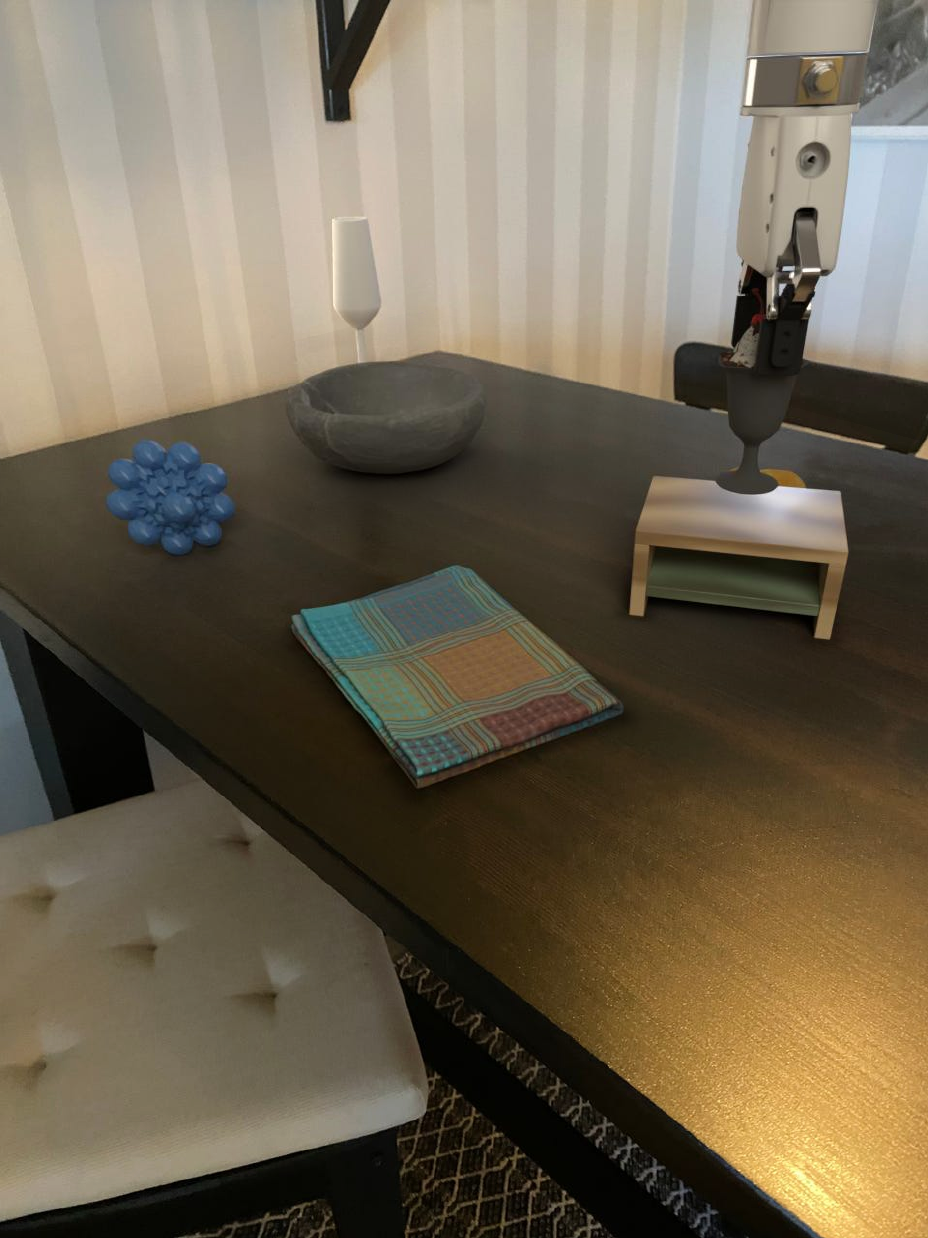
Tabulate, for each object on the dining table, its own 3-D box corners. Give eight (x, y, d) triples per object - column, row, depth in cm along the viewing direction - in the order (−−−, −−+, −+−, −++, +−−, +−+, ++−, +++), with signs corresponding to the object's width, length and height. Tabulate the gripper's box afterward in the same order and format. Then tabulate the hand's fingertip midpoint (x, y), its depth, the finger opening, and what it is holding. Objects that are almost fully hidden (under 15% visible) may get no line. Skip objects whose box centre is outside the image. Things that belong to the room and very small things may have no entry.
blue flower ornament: (131, 587, 83) (101, 464, 77) (117, 558, 88) (88, 441, 82) (253, 557, 88) (234, 439, 82) (233, 531, 93) (214, 418, 87)
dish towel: (469, 582, 82) (468, 557, 81) (628, 715, 64) (631, 686, 63) (290, 634, 75) (286, 608, 74) (412, 799, 57) (410, 769, 56)
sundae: (721, 463, 78) (743, 280, 70) (800, 478, 74) (832, 287, 67) (691, 488, 73) (710, 295, 66) (772, 505, 70) (803, 304, 62)
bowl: (449, 513, 95) (445, 421, 90) (262, 492, 102) (248, 405, 97) (510, 440, 114) (510, 361, 109) (348, 426, 121) (341, 351, 115)
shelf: (829, 641, 72) (848, 551, 68) (629, 616, 76) (635, 530, 72) (824, 572, 82) (840, 490, 78) (646, 554, 86) (653, 475, 82)
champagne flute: (369, 405, 128) (353, 223, 116) (332, 398, 131) (314, 220, 119) (397, 393, 133) (385, 216, 121) (361, 386, 136) (346, 214, 124)
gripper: (911, 88, 52) (851, 393, 61) (819, 86, 67) (782, 332, 76) (778, 92, 52) (739, 395, 61) (716, 89, 67) (692, 334, 76)
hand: (763, 358), depth 69 cm, fingers closed on sundae, 6 cm apart
